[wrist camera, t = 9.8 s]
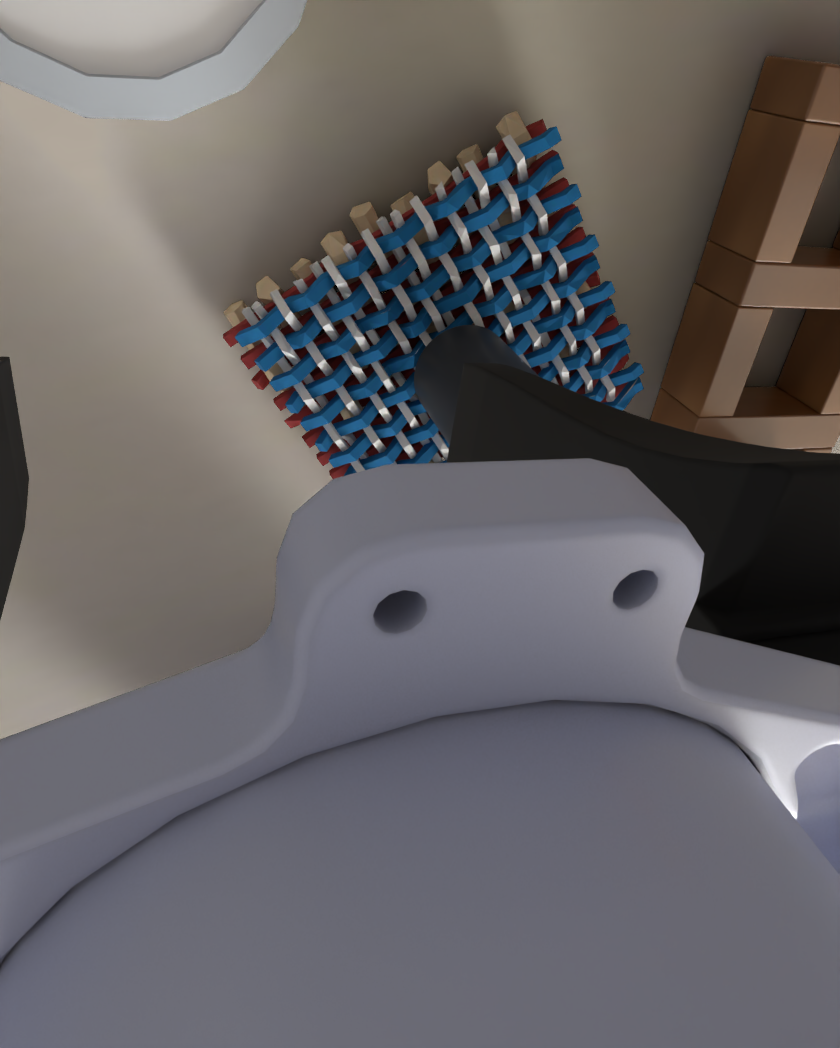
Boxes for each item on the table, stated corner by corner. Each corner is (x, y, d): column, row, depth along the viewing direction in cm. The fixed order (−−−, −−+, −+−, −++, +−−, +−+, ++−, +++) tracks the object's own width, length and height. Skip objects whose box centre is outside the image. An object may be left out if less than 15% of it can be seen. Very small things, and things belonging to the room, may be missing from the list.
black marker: (500, 419, 24) (618, 561, 18) (404, 422, 23) (495, 572, 17) (520, 321, 23) (657, 442, 17) (416, 319, 22) (523, 447, 16)
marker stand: (743, 525, 34) (781, 559, 32) (612, 535, 32) (644, 572, 30) (933, 81, 24) (1002, 90, 22) (764, 55, 22) (825, 62, 20)
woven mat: (199, 307, 22) (205, 333, 20) (521, 91, 21) (553, 100, 19) (379, 539, 28) (394, 573, 27) (629, 380, 27) (660, 405, 26)
